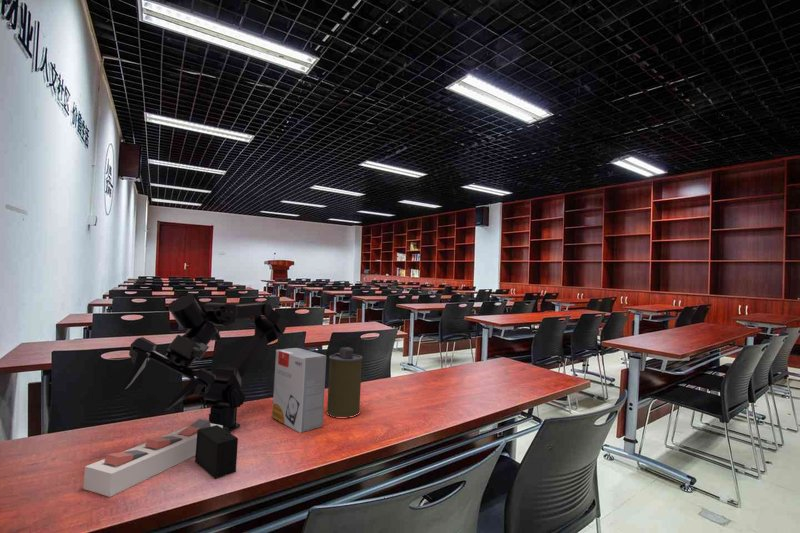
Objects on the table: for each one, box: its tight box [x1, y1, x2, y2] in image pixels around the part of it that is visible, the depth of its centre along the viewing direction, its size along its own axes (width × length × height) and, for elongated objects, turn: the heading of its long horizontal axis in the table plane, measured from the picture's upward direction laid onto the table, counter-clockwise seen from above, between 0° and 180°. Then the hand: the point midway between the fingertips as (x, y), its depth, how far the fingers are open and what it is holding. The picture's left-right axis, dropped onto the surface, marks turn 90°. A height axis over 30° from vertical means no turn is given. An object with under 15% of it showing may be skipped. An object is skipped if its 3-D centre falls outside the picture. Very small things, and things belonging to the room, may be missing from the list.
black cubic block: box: [194, 425, 239, 480], centre depth 79 cm, size 10×5×7 cm, turn 48°
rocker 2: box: [145, 436, 182, 449], centre depth 80 cm, size 6×3×1 cm, turn 161°
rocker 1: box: [104, 450, 148, 465], centre depth 73 cm, size 6×3×1 cm, turn 161°
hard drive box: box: [271, 347, 327, 434], centre depth 107 cm, size 16×8×20 cm, turn 47°
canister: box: [326, 346, 364, 417], centre depth 117 cm, size 11×10×20 cm
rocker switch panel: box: [82, 423, 223, 498], centre depth 81 cm, size 29×7×4 cm, turn 161°
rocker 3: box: [178, 418, 210, 437], centre depth 87 cm, size 6×3×1 cm, turn 162°
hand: (145, 399), depth 77 cm, fingers open, 9 cm apart
